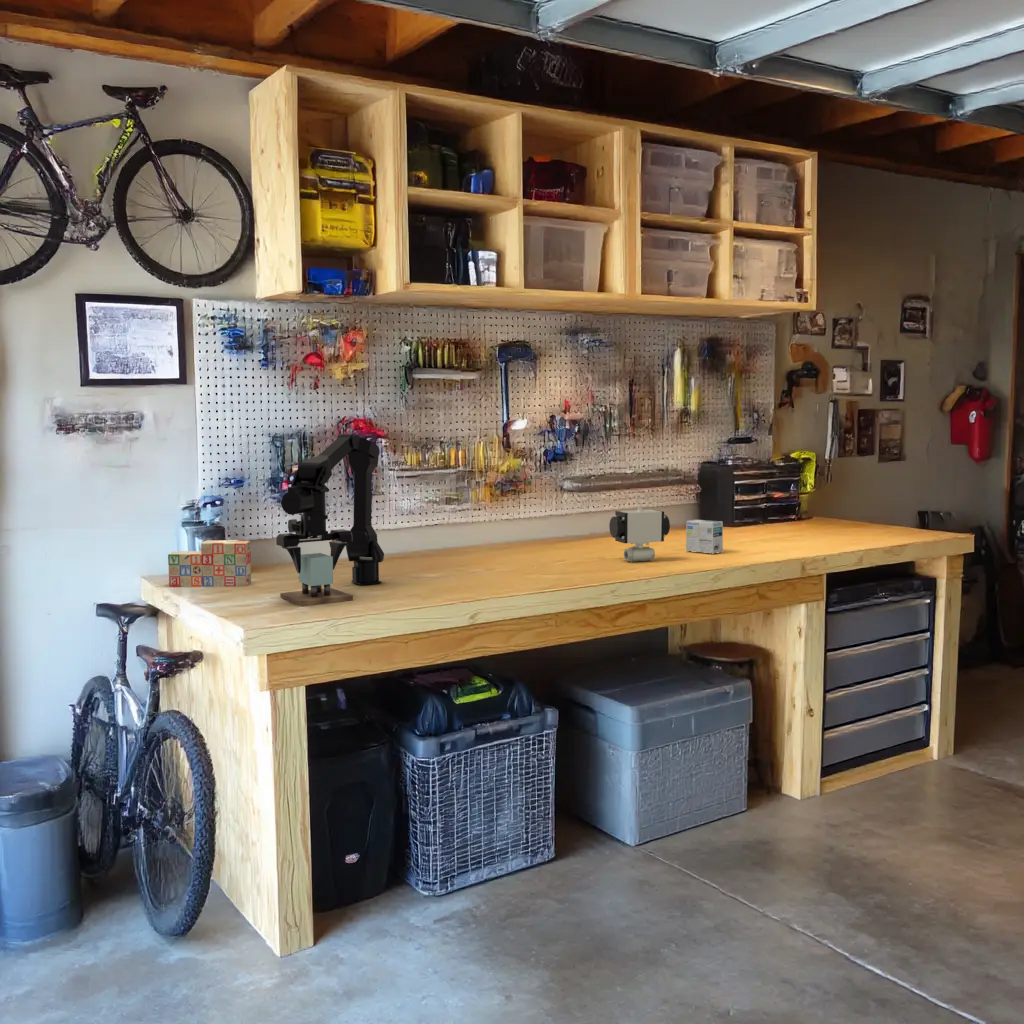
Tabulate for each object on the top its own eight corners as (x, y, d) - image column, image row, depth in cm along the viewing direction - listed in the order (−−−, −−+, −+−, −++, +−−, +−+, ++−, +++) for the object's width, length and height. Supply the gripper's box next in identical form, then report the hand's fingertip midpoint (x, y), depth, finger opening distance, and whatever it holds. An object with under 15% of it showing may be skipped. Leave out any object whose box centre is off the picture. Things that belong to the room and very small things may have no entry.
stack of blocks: (168, 587, 279) (166, 543, 278) (175, 583, 285) (173, 540, 284) (247, 586, 280) (245, 542, 279) (251, 582, 286) (250, 539, 285)
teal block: (320, 579, 265) (319, 552, 265) (333, 583, 259) (332, 556, 258) (298, 581, 262) (298, 554, 261) (311, 586, 255) (310, 558, 255)
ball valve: (657, 557, 330) (658, 503, 328) (669, 561, 322) (670, 505, 320) (607, 560, 324) (607, 505, 322) (618, 564, 316) (618, 507, 314)
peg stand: (330, 592, 270) (330, 576, 270) (353, 600, 259) (352, 583, 258) (280, 597, 263) (279, 581, 262) (301, 606, 251) (300, 589, 251)
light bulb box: (723, 552, 341) (723, 521, 340) (713, 555, 336) (713, 522, 335) (695, 550, 348) (695, 518, 347) (685, 552, 343) (685, 520, 342)
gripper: (334, 506, 270) (336, 564, 272) (267, 510, 260) (269, 570, 261) (353, 509, 261) (354, 569, 263) (283, 514, 251) (285, 576, 252)
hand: (315, 571), depth 260 cm, fingers open, 9 cm apart
